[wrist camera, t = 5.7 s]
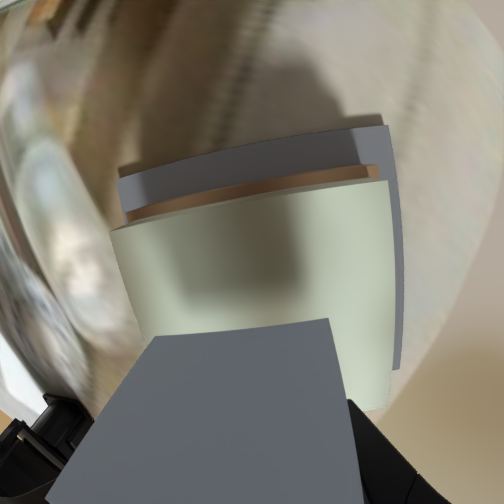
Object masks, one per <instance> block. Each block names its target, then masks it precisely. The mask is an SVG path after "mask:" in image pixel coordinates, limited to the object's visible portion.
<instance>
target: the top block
mask: <svg viewBox="0 0 504 504" xmlns="http://www.w3.org/2000/svg"><path fill="white" fill-rule="evenodd" d="M45 499H46V500H47V501H48V502H49V503H50V504H364V500H363V492H362V485H361V478H360V472H359V465H358V459H357V453H356V447H355V441H354V435H353V430H352V424H351V419H350V413H349V408H348V403H347V398H346V393H345V388H344V384H343V379H342V374H341V370H340V365H339V360H338V356H337V352H336V347H335V343H334V339H333V334H332V330H331V326H330V322H329V318H323V319H316V320H310V321H303V322H296V323H289V324H281V325H274V326H266V327H257V328H248V329H239V330H229V331H218V332H207V333H194V334H180V335H163V336H154V338H153V339H152V341H151V342H150V343H149V345H148V346H147V348H146V349H145V350H144V352H143V353H142V355H141V356H140V357H139V359H138V360H137V362H136V363H135V364H134V366H133V367H132V369H131V370H130V371H129V373H128V374H127V376H126V377H125V379H124V380H123V381H122V383H121V384H120V386H119V387H118V389H117V390H116V391H115V393H114V394H113V396H112V397H111V399H110V400H109V401H108V403H107V404H106V406H105V407H104V409H103V410H102V412H101V413H100V415H99V416H98V418H97V419H96V420H95V422H94V423H93V425H92V426H91V428H90V429H89V431H88V432H87V434H86V435H85V437H84V438H83V440H82V441H81V443H80V444H79V446H78V447H77V449H76V450H75V452H74V453H73V455H72V456H71V458H70V459H69V461H68V463H67V464H66V466H65V467H64V469H63V470H62V472H61V473H60V475H59V476H58V478H57V480H56V481H55V483H54V484H53V486H52V487H51V489H50V491H49V492H48V494H47V495H46V497H45Z"/></svg>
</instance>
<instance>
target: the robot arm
mask: <svg viewBox="0 0 504 504" xmlns="http://www.w3.org/2000/svg"><path fill="white" fill-rule="evenodd" d="M43 398H44V400H45V402H46V403H47V405H48V407H47V408H46V409H45V411H44V412H43V413H42V414H41V415H40V417H39V418H38V419H37V420H36V421H35V423H34V424H33V425H32V426H31V427H29V426H28V425H27V423H26V422H25V421H24V420H22V421H19V420H18V419H16V418H15V419H14V420H13V421H12V422H11V424H10V425H9V426H8V427H7V428H6V429H5V430H4V431H3V433H2V434H1V435H0V504H50V503H49V502H48V501H47V500H46V499H45V497H46V495H47V494H48V492H49V491H50V489H51V487H52V486H53V484H54V483H55V481H56V480H57V478H58V476H59V475H60V473H61V472H62V470H63V469H64V467H65V466H66V464H67V463H68V461H69V459H70V458H71V456H72V455H73V453H74V452H75V450H76V449H77V447H78V446H79V444H80V443H81V441H82V440H83V438H84V437H85V435H86V434H87V432H88V431H89V429H90V428H91V426H92V425H93V422H92V421H91V419H90V418H89V417H88V415H87V414H86V412H85V411H84V409H83V407H82V406H81V404H80V403H79V402H78V401H76V400H72V399H67V398H63V397H58V396H54V395H49V394H44V395H43ZM347 403H348V408H349V413H350V419H351V424H352V430H353V435H354V441H355V447H356V453H357V459H358V465H359V472H360V478H361V485H362V492H363V500H364V504H451V503H450V502H449V501H448V500H446V499H445V498H444V497H443V496H442V495H440V494H439V493H438V492H437V491H436V490H435V489H434V488H433V487H432V486H431V485H430V484H429V483H428V482H427V481H426V480H425V479H424V478H423V477H422V476H421V475H420V474H417V471H416V470H415V469H414V468H413V466H412V465H411V464H410V463H409V462H408V461H407V460H406V459H405V458H404V457H403V456H402V455H401V454H400V452H399V451H398V450H397V449H396V448H395V447H394V446H393V445H392V444H391V443H390V442H389V440H388V439H387V438H386V437H385V436H384V435H383V434H382V433H381V432H380V431H379V429H378V428H377V427H376V426H375V425H374V424H373V423H372V422H371V420H370V419H369V418H368V417H367V416H366V415H365V414H364V413H363V412H362V410H361V409H360V408H359V407H358V406H357V405H356V404H355V403H354V401H353V400H352V399H347ZM17 435H19V436H20V437H21V438H22V440H20V439H19V438H18V437H17Z"/></svg>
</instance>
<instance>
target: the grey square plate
mask: <svg viewBox="0 0 504 504" xmlns="http://www.w3.org/2000/svg"><path fill="white" fill-rule="evenodd" d="M360 164H375V165H378V169H379V176H380V179H384V180H388V186H389V194H390V203H391V213H392V224H393V238H394V256H395V335H394V353H393V366H392V371H393V370H397V369H400V359H401V348H402V333H403V312H404V257H403V236H402V221H401V210H400V199H399V190H398V182H397V175H396V167H395V161H394V154H393V148H392V143H391V137H390V132H389V127H388V125H383V126H371V127H360V128H350V129H341V130H333V131H325V132H318V133H311V134H304V135H297V136H291V137H285V138H279V139H274V140H268V141H263V142H258V143H253V144H248V145H243V146H238V147H233V148H229V149H224V150H220V151H216V152H211V153H207V154H203V155H199V156H195V157H191V158H187V159H184V160H180V161H176V162H172V163H169V164H165V165H162V166H158V167H155V168H151V169H148V170H145V171H142V172H138V173H135V174H132V175H129V176H126V177H123V178H120V179H117V180H116V183H117V188H118V192H119V197H120V201H121V205H122V210H123V214H124V218H125V222H126V224H128V222H127V218H126V214H125V212H128V211H131V210H134V209H137V208H140V207H143V206H146V205H149V204H152V203H156V202H160V201H164V200H168V199H173V198H177V197H181V196H185V195H190V194H194V193H198V192H203V191H208V190H212V189H217V188H222V187H226V186H231V185H236V184H241V183H246V182H252V181H257V180H262V179H268V178H273V177H279V176H285V175H291V174H297V173H303V172H310V171H316V170H323V169H330V168H337V167H344V166H352V165H360Z"/></svg>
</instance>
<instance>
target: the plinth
mask: <svg viewBox="0 0 504 504" xmlns="http://www.w3.org/2000/svg"><path fill="white" fill-rule="evenodd" d="M125 214H126V218H127V222H128V224H126V225H123V226H121V227H119V228H116V229H114V230H112V231H110V232H109V234H110V238H111V242H112V245H113V249H114V252H115V256H116V259H117V262H118V266H119V269H120V272H121V275H122V278H123V282H124V285H125V288H126V291H127V294H128V296H129V299H130V302H131V305H132V308H133V311H134V313H135V316H136V319H137V321H138V324H139V327H140V329H141V332H142V334H143V337H144V339H145V342H146V344H147V346H148V345H149V343H150V342H151V341H152V339H153V338H154V336H163V335H180V334H194V333H207V332H218V331H229V330H239V329H248V328H257V327H266V326H274V325H281V324H289V323H296V322H303V321H310V320H316V319H323V318H329V322H330V326H331V330H332V334H333V339H334V343H335V347H336V352H337V356H338V360H339V365H340V370H341V374H342V379H343V384H344V388H345V393H346V398H347V399H352V400H353V401H354V403H355V404H356V405H357V406H358V407H359V408H360V409H361V410H362V412H364V411H369V410H374V409H379V408H383V407H387V406H388V403H389V395H390V386H391V377H392V366H393V353H394V335H395V256H394V238H393V224H392V213H391V203H390V194H389V186H388V180H384V179H380V176H379V169H378V165H375V164H360V165H352V166H344V167H337V168H330V169H323V170H316V171H310V172H303V173H297V174H291V175H285V176H279V177H273V178H268V179H262V180H257V181H252V182H246V183H241V184H236V185H231V186H226V187H222V188H217V189H212V190H208V191H203V192H198V193H194V194H190V195H185V196H181V197H177V198H173V199H168V200H164V201H160V202H156V203H152V204H149V205H146V206H143V207H140V208H137V209H134V210H131V211H128V212H125Z"/></svg>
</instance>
